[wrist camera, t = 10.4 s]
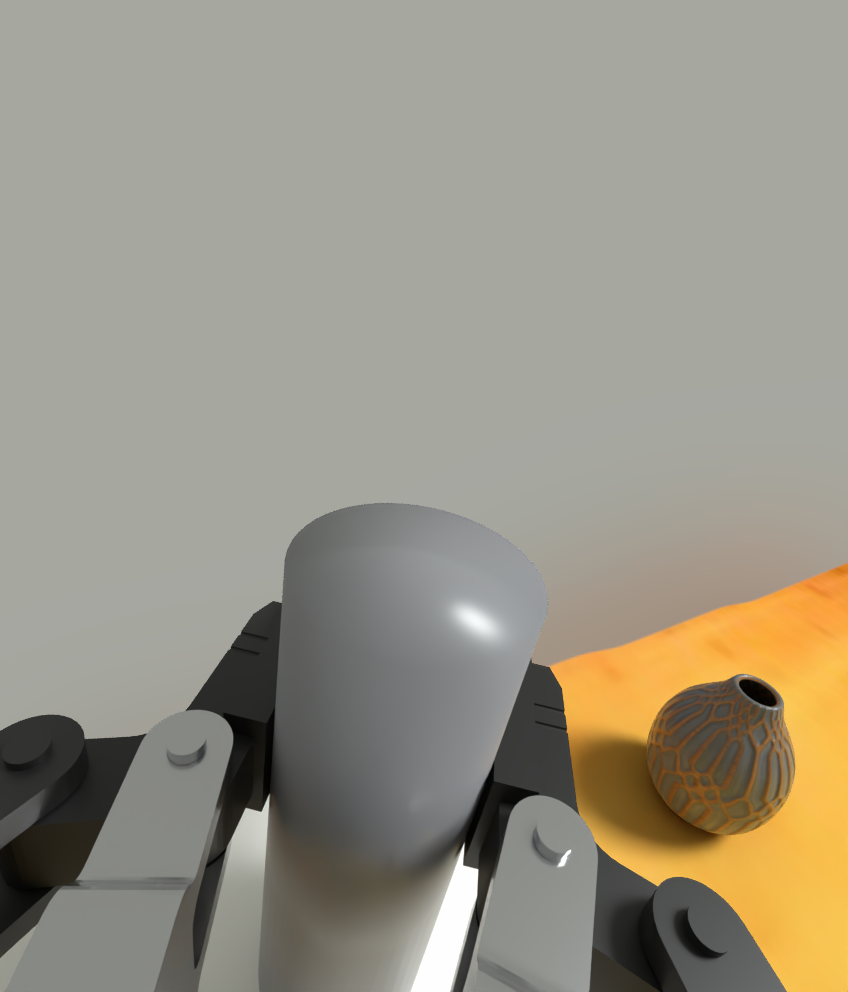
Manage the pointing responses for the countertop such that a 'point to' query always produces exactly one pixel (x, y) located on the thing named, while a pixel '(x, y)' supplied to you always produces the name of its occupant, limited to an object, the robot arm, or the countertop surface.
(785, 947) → the countertop surface
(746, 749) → the vase
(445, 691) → the lid
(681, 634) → the countertop surface
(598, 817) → the countertop surface
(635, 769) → the countertop surface
